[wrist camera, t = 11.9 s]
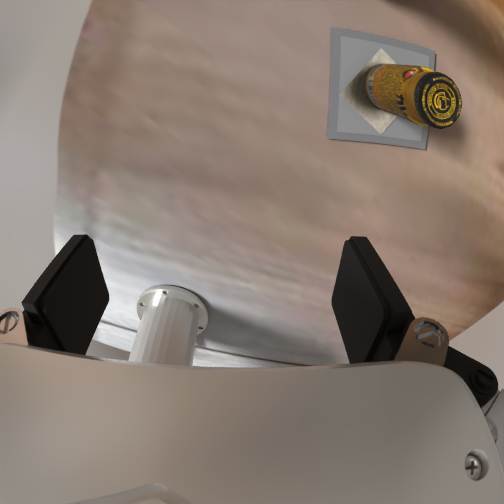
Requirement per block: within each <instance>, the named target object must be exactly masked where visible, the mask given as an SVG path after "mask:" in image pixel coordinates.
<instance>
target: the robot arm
mask: <svg viewBox="0 0 504 504" xmlns="http://www.w3.org/2000/svg"><path fill="white" fill-rule="evenodd" d="M108 302H109V292H108V289H107V286H106V283H105V280H104V277H103V273H102V270H101V267H100V263H99V260H98V256H97V252H96V249H95V245H94V241H93V240H92V239H91V238H90V237H89V236H88V235H73V236H72V237H71V239H70V240H69V241H68V242H67V243H66V244H65V246H64V247H63V248H62V249H61V251H60V252H59V253H58V254H57V255H56V257H55V258H54V259H53V260H52V262H51V263H50V264H49V266H48V267H47V268H46V270H45V271H44V272H43V274H42V275H41V276H40V277H39V279H38V280H37V282H36V283H35V284H34V286H33V287H32V288H31V290H30V291H29V293H28V294H27V295H26V297H25V298H24V300H23V301H22V305H23V307H24V311H23V312H21V310H20V309H17V308H9V309H6V310H4V311H3V312H1V313H0V504H504V389H502V390H501V391H499V390H498V381H497V378H496V376H495V374H494V373H493V371H492V370H491V369H490V368H488V367H487V366H485V365H483V364H481V363H480V362H478V361H476V360H474V359H472V358H470V357H468V356H466V355H465V354H463V353H461V352H459V351H457V350H455V349H454V348H452V347H450V346H448V345H449V335H448V332H447V331H446V329H445V328H444V327H443V326H442V325H441V324H440V323H439V322H437V321H435V320H433V319H430V318H425V317H421V318H416V319H415V317H414V315H413V313H412V310H411V309H410V307H409V305H408V303H407V302H406V300H405V298H404V296H403V295H402V293H401V291H400V290H399V288H398V286H397V284H396V283H395V281H394V279H393V278H392V276H391V275H390V273H389V271H388V270H387V268H386V266H385V265H384V263H383V262H382V260H381V258H380V257H379V255H378V254H377V252H376V251H375V249H374V248H373V246H372V244H371V243H370V241H369V240H368V238H367V237H357V236H351V237H350V239H349V240H346V241H345V243H344V247H343V252H342V256H341V261H340V265H339V270H338V274H337V278H336V283H335V287H334V291H333V295H332V307H333V310H334V313H335V317H336V320H337V323H338V326H339V329H340V332H341V336H342V339H343V342H344V345H345V349H346V352H347V355H348V359H349V362H350V364H340V365H323V366H303V367H274V368H230V367H199V366H192V364H193V357H194V350H195V343H196V336H197V335H199V334H201V333H202V332H203V331H204V330H205V328H206V326H207V323H208V311H207V308H206V306H205V305H204V303H203V302H202V301H201V300H200V299H199V298H198V297H197V296H196V295H194V294H193V293H191V292H189V291H187V290H185V289H182V288H179V287H175V286H167V285H162V286H155V287H152V288H150V289H148V290H146V291H145V292H144V293H142V295H141V296H140V298H139V300H138V303H137V314H138V316H139V318H140V320H141V322H140V325H139V328H138V331H137V334H136V338H135V341H134V344H133V347H132V351H131V354H130V357H129V361H124V360H116V359H108V358H101V357H100V358H99V357H94V356H87V355H85V354H86V352H87V349H88V347H89V345H90V342H91V340H92V338H93V335H94V333H95V331H96V328H97V326H98V324H99V322H100V319H101V317H102V315H103V313H104V311H105V309H106V306H107V304H108Z"/></svg>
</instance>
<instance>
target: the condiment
mask: <svg viewBox="0 0 504 504" xmlns="http://www.w3.org/2000/svg"><path fill="white" fill-rule="evenodd" d="M339 96H341V97H342V98H343V99H344V100H345V101H346V102H347V103H348V104H349V105H350V106H352V107H353V108H354V109H355V110H356V111H357V112H358V113H359V114H360V115H361V116H362V117H363V118H364V119H365V120H367V121H368V122H369V123H370V124H371V125H372V126H373V127H374V128H375V129H376V130H377V131H378V132H379V133H380V134H382V133H383V132H384V131H385V130H386V128H387V127H388V126H389V125H390V124H391V123H392V121H393V120H394V119H395V118H396V117H397V116H399V117H401V118H404V119H406V120H409V121H411V122H413V123H415V124H418V125H423V126H425V125H429V126H431V127H434V128H438V129H443V128H446V127H449V126H451V125H452V124H453V123H454V122H455V121H456V120H457V118H458V117H459V115H460V111H461V107H462V101H461V95H460V92H459V89H458V88H457V86H456V85H455V83H454V81H453V80H452V79H451V78H449V77H448V76H446V75H445V74H442V73H439V72H435V71H433V70H431V69H429V68H426V67H422V66H416V65H415V66H412V65H400V64H396V63H395V62H394V61H393V60H392V58H391V57H390V56H389V55H388V54H387V53H386V52H385V51H384V50H383V49H382V48H381V49H380V50H379V51H378V52H377V53H376V54H375V55H374V56H373V57H372V58H371V60H370V61H369V62H368V63H367V64H366V65H365V66H364V67H363V68H362V70H361V71H360V72H359V73H358V74H357V76H356V77H355V78H354V79H353V80H352V81H351V82H350V83H349V84H348V86H347V87H346V88H345V89H344V90H343V92H342V93H341V94H340V95H339ZM381 110H382V111H381ZM378 111H379V112H378Z"/></svg>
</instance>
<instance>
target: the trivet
mask: <svg viewBox="0 0 504 504" xmlns="http://www.w3.org/2000/svg"><path fill="white" fill-rule="evenodd" d="M381 48H382V49H383V50H384V51H385V52H386V53H387V54H388V55H389V56H390V57H391V58H392V60H393V61H394V62H395V63H396V64H400V65H412V66H415V65H416V66H422V67H426V68H429V69H431V70H433V71H434V63H435V51H433V50H430V49H426V48H423V47H420V46H417V45H413V44H410V43H406V42H403V41H399V40H395V39H391V38H387V37H383V36H378V35H373V34H369V33H363V32H358V31H352V30H346V29H340V28H333V27H332V28H331V45H330V85H329V107H328V124H327V138H328V139H338V140H351V141H362V142H372V143H381V144H390V145H398V146H405V147H412V148H418V149H425V148H426V142H427V135H428V128H429V125H425V126H423V125H418V124H415V123H413V122H411V121H409V120H406V119H404V118H401V117H399V116H397V117H396V118H395V119H394V120H393V121H392V123H391V124H390V125H389V126H388V127H387V128H386V130H385V131H384V132H383V133H382V134H380V133H379V132H378V131H377V130H376V129H375V128H374V127H373V126H372V125H371V124H370V123H369V122H368V121H367V120H365V119H364V118H363V117H362V116H361V115H360V114H359V113H358V112H357V111H356V110H355V109H354V108H353V107H352V106H350V105H349V104H348V103H347V102H346V101H345V100H344V99H343V98H342V97H341V96H339V95H340V94H341V93H342V92H343V90H344V89H345V88H346V87H347V86H348V84H349V83H350V82H351V81H352V80H353V79H354V78H355V77H356V76H357V74H358V73H359V72H360V71H361V70H362V68H363V67H364V66H365V65H366V64H367V63H368V62H369V61H370V60H371V58H372V57H373V56H374V55H375V54H376V53H377V52H378V51H379V50H380V49H381ZM381 111H382V110H381ZM378 112H379V111H378Z"/></svg>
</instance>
